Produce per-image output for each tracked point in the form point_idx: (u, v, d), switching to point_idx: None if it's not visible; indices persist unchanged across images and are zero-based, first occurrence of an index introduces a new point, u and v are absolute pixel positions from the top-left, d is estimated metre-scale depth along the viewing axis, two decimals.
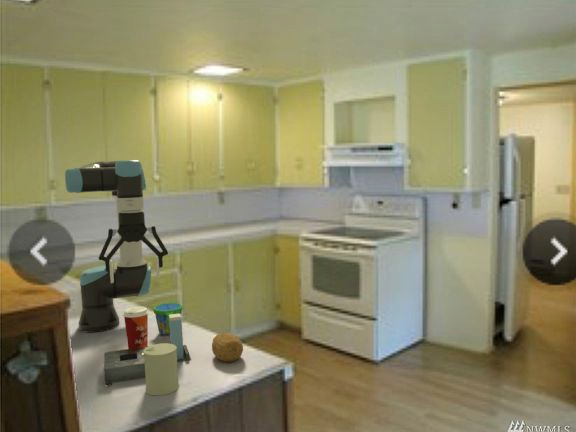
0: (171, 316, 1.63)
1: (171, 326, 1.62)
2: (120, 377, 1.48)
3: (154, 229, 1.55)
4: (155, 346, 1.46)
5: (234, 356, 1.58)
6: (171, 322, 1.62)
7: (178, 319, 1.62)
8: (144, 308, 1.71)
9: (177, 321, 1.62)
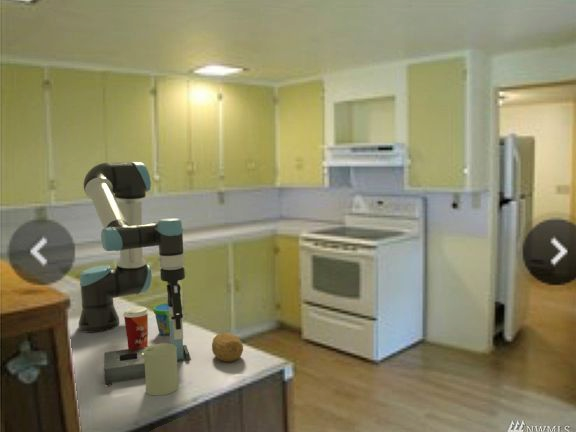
0: (171, 316, 1.63)
1: (171, 326, 1.62)
2: (120, 377, 1.48)
3: (171, 290, 1.56)
4: (155, 346, 1.46)
5: (234, 356, 1.58)
6: (171, 322, 1.62)
7: None
8: (144, 308, 1.71)
9: None
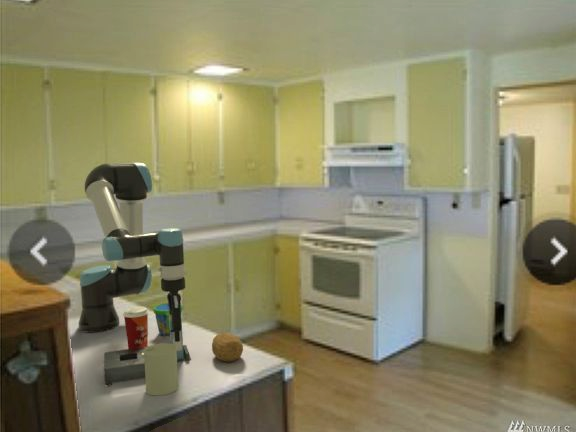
0: (171, 316, 1.63)
1: (171, 326, 1.62)
2: (120, 377, 1.48)
3: (172, 305, 1.57)
4: (155, 346, 1.46)
5: (234, 356, 1.58)
6: (171, 322, 1.62)
7: None
8: (144, 308, 1.71)
9: None
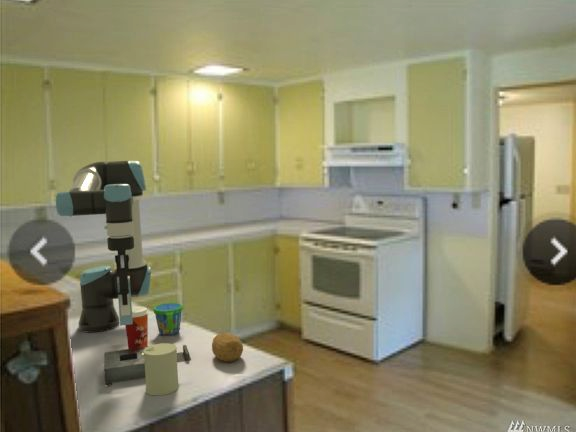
0: None
1: (118, 288, 1.51)
2: (120, 377, 1.48)
3: (118, 265, 1.46)
4: (155, 346, 1.46)
5: (234, 356, 1.58)
6: (118, 284, 1.50)
7: None
8: (144, 308, 1.71)
9: None
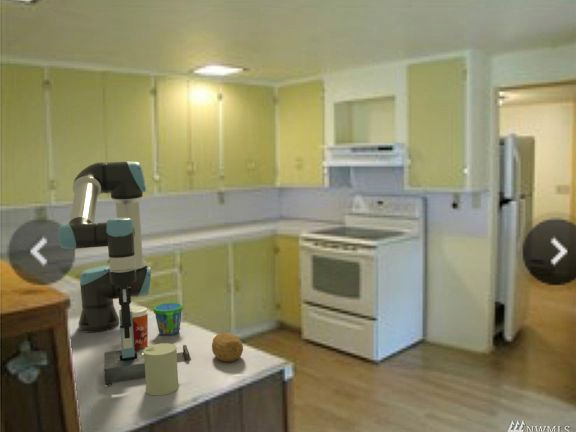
0: None
1: (121, 322, 1.52)
2: (120, 377, 1.48)
3: (120, 299, 1.47)
4: (155, 346, 1.46)
5: (234, 356, 1.58)
6: (121, 317, 1.52)
7: None
8: (144, 308, 1.71)
9: None
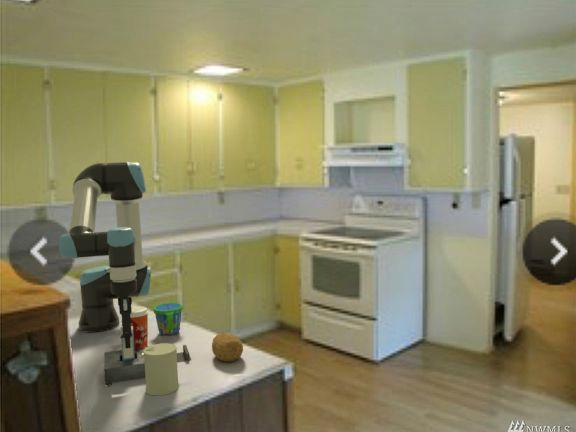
0: None
1: (122, 340, 1.52)
2: (120, 377, 1.48)
3: (120, 307, 1.47)
4: (155, 346, 1.46)
5: (234, 356, 1.58)
6: None
7: None
8: (144, 308, 1.71)
9: None
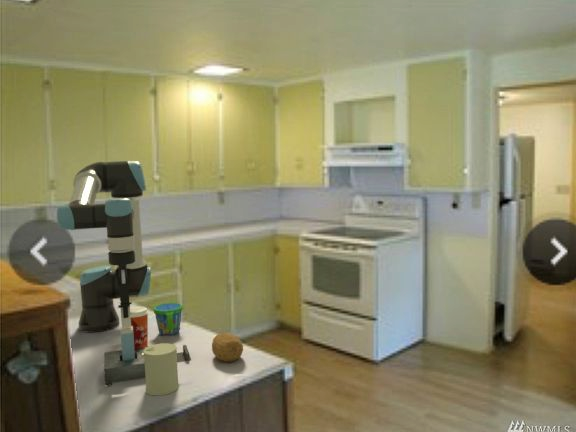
0: (122, 329, 1.53)
1: (122, 340, 1.52)
2: (120, 377, 1.48)
3: (119, 281, 1.47)
4: (155, 346, 1.46)
5: (234, 356, 1.58)
6: (122, 335, 1.52)
7: (130, 332, 1.53)
8: (144, 308, 1.71)
9: (128, 334, 1.53)
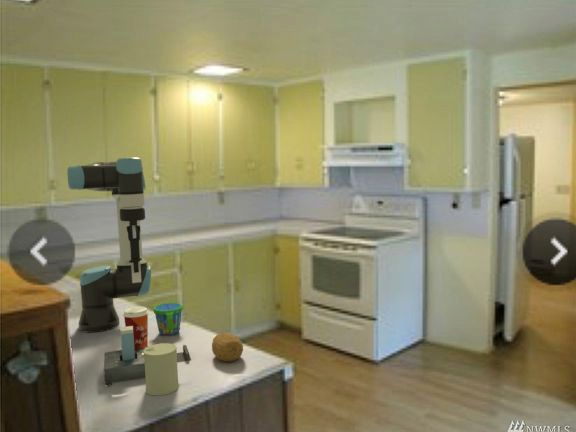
0: (122, 329, 1.53)
1: (122, 340, 1.52)
2: (120, 377, 1.48)
3: (130, 235, 1.53)
4: (155, 346, 1.46)
5: (234, 356, 1.58)
6: (122, 335, 1.52)
7: (130, 332, 1.53)
8: (144, 308, 1.71)
9: (128, 334, 1.53)
